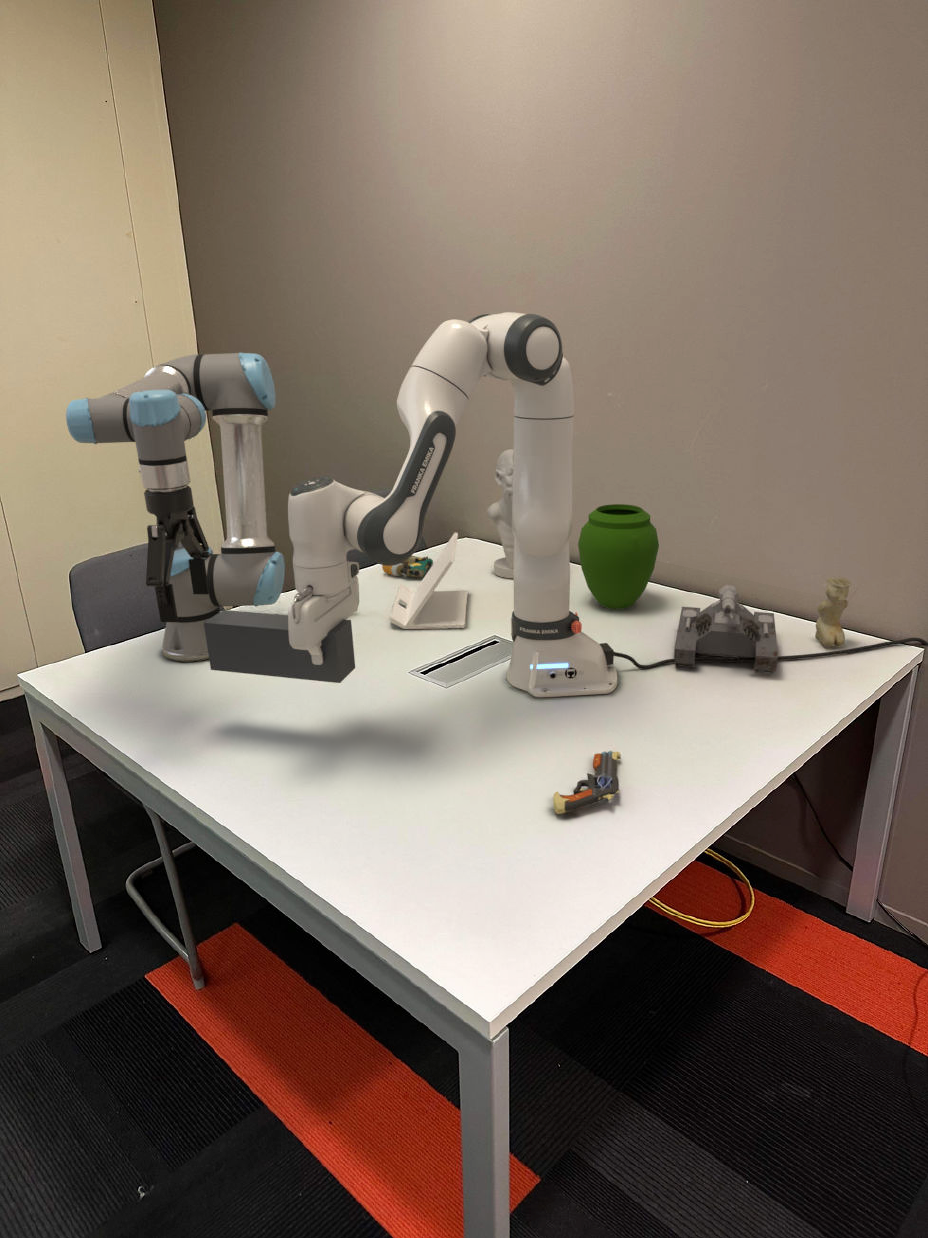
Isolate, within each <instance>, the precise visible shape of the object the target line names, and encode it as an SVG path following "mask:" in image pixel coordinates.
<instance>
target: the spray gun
mask: <svg viewBox="0 0 928 1238" xmlns="http://www.w3.org/2000/svg"><path fill="white" fill-rule="evenodd" d="M433 564H434V560H433V559H432V558H430V557H429V556H428V555H427V556H423V557H420V556H416V555H412V556H411V557H410V558H409V559H407V560H406V561H404V562H402V563H400V564H397V565H393V566H385V565H381V566H382V567H381V568H382V571H383V572H384V573H385V574H388V575H390V576H394V577H399V576H401V575H403V574H404V575H406V576H407V577H419V578H422V577H423V578H424V577H425V575H426V574H427V572H428V571H427V569H428V568H431V567H432V565H433Z"/></svg>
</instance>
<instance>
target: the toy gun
mask: <svg viewBox="0 0 928 1238" xmlns="http://www.w3.org/2000/svg"><path fill="white" fill-rule="evenodd" d="M621 756H622V755H621V752H620V751H613V750H609V751H608V752H607V751H602V752H599V753H598V752H597V753H594V754H593V760H592V768H593V770H594V771H595V774H592V773H589V772H587V773H586V774H587V776H586V777H587V779H581V780H579V781H577V783H576V786H575V788H574V789H573V791H572V792H573V794H566V795H565V794H561V793H560V792H559V791H555V792H554V793H553V797H552V801H553V809H554V812H555V813H556V814H557V815H562V814H565V813H567V812H572V811H577V810H579V809H581V808H584V807H587V806H590V805H595V804H598V803H599V802H601V801H603V800H606V799H607V800H608V802H610V801H611V800H613V798H614V795H616V794H618V793H620V791H619V787H620V784H619V778H618V775H617V771H618V770H617V768H618V760H621V759H622V757H621ZM582 787H587V788H586V789H583V788H582Z"/></svg>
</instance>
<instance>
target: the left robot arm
mask: <svg viewBox="0 0 928 1238" xmlns="http://www.w3.org/2000/svg"><path fill="white" fill-rule="evenodd" d="M272 375H273V374H272V372H271V369H270V367H269V364H268V362H267V361H266V359H265V358H264V357H263V356H262V355H261V354H258V353H251V352H230V353H229V352H228V353H208V354H207V353H205V354H188V355H184V356H179V357H177V358H174V359H171V360H168V361H165V362H162V363H161V364H158V365H156V366H153V367H152V368H150V369H148V370H147V372H146V373H145V375H144V376H143V378H141V379H138V380H136V381H134V382H132V383H129V384H127V385H125V386H123V387H121V388H119V389H117V390H114V391H112V392H110V393H108V394H105V395H102V396H100V397H96V398H89V397H85V398H79V399H73V400H71V401H70V402H69V404H68V405H67V407H66V410H65V411H66V412H65V421H66V426H67V429H68V432H69V434H70V436H71V438H72V439H73V440H74V441H75V442H76V443H80V444H94V445H98V444H116V443H117V444H118V443H135V448H136V453H137V459H138V460H137V461H138V464H139V468H138V471H139V472H138V473H140V475H141V476H140V477H141V482H142V487H143V488H144V489H145V490H144V491H143V497H144V501H145V508H146V511H147V513H149V514H151V515H154V516H155V517H156V524H149V525H147V527H146V532H147V539H148V540H147V556H146V557H147V558H146V574H145V576H146V577H145V584H146V585H145V586H147V587H154V590H155V591H154V592H155V595H156V601H157V602H156V603H157V608H158V614H159V619H160V623H165V629H164V634H163V640H162V645H161V647H162V654H163V656H164V657H165V658H166V659H168V660H169V661H170V660H171V661H174V662H183V663H186V662H187V663H188V662H199V661H200V662H201V661H205V660H206V661H207V660H209V655H208V648H207V642H206V635H205V629H204V622H205V621H207V620H209V619H210V618H212V617H213V616H215V615H216V614H218V613H220V612H221V609H220V607H251V606H253V607H255V608H257V607H259V606H271V605H274V604H275V603H276V602H278V600H279V599H280V596H281V594H282V591H283V587H284V581H285V572H286V570H285V569H286V568H285V567H286V566H285V565H286V564H285V558H284V557H285V556H284V554H283V553H282V552H279V551H276V544H275V542H274V541H272V539H271V538H269V536H268V522H267V521H268V519H267V505H266V504H267V503H266V486H265V485H266V484H265V465H264V451H263V450H264V449H263V435H262V434H263V432H262V431H263V430H262V426H263V425H264V424H265V423H266V421H267V420H268V419H269V412H268V410H270V411H271V410H273V409H274V408H275V407H276V399H277V397H276V396H277V395H276V388H275V383H274V379H273V376H272ZM207 411H210V412H211V414H212V420H214V421H215V423H216V424H218V425H219V427H220V437H221V438H220V441H221V442H220V443H221V455H222V456H221V458H222V472H223V474H222V475H223V489H224V503H225V521H226V539H225V541H223V543H222V544H221V545H220V553H214V550H212V549H213V548H211V546H209V544H208V541H207V538H206V537H205V534H204V531H203V529H202V527H201V524H200V521H199V519H198V516H197V510H196V507H195V505H194V497H193V491H192V487H190V486H189V484H190V483H191V476H190V469H189V463H188V457H187V451H186V445H185V444H186V443H185V442H186V441H187V440H191V439H192V438H195V437H197V435H199V433H201V432H202V430H203V429H204V427H205V425H206V422H207ZM179 543H180V544H181V545H182V547H183V548H179ZM178 548H179V549H178Z"/></svg>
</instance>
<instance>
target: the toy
mask: <svg viewBox="0 0 928 1238" xmlns="http://www.w3.org/2000/svg"><path fill="white" fill-rule="evenodd" d="M739 595H740V592H739V590H738V588H737V587H735V586H734V585H732V584H731V585H730V584H725V585H724V586H723V587H722V588H720V589H719V590H718V599H719V600H716V601H715V602H713V603H711V604H710V605H708V606H707V607H705V608H703V609H702V610H701V607H694V606H693V607H692V606H681V610H680V615H679V620H678V625H677V631H676V637H675V642H674V653H673V659H674V661H675V662H674V663H675V664H674V665H675V667H687V668H694V667H695V663H696V662H695V658H696V654H700V655H701V656H702V655H703V656H714V657H724V658H752V657H754V661H753V672H755V673H756V672H757V673H768V674H769V673H770V674H774V673H776V670H777V665H778V661H779V660H778V656H779V650H778V640H777V629H776V620H775V619H776V618H775V613H774V612H766V611H765V612H763V611H753V613H752V612H751V611H750V610H749V609H747V608H746V606H745V605H743V604H741V603H740V602H739V601H738V599H739Z"/></svg>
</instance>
